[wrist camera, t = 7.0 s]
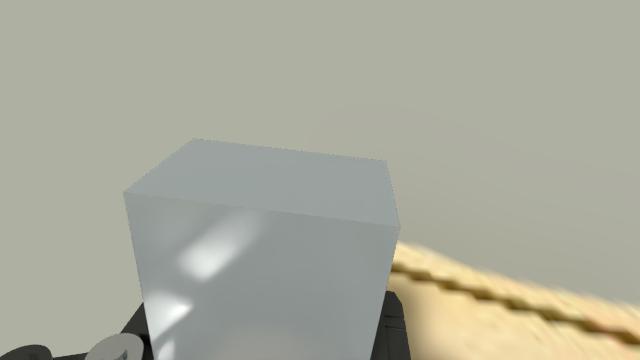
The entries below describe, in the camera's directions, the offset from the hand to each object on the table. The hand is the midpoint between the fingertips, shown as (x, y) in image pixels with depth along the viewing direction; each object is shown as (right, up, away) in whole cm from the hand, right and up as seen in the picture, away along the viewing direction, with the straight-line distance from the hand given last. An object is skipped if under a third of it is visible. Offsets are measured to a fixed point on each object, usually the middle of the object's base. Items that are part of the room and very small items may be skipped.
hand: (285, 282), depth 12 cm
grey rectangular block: (0, -2, -2) cm, 3 cm away
